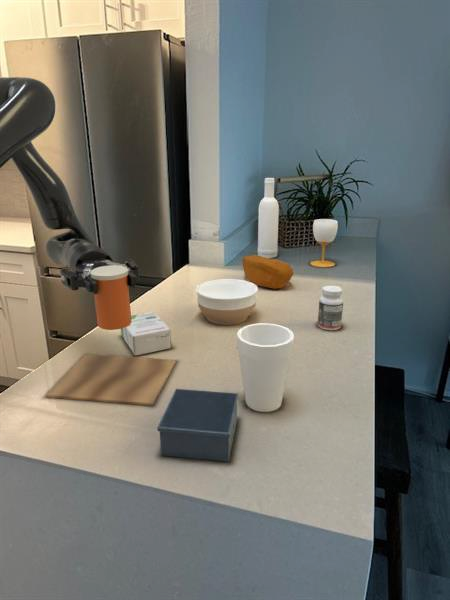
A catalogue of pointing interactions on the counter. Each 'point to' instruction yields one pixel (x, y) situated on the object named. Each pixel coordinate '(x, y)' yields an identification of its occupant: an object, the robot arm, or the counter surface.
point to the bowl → (226, 300)
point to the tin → (199, 425)
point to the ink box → (147, 334)
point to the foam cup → (264, 363)
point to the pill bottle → (330, 308)
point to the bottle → (268, 222)
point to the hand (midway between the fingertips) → (114, 285)
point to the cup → (324, 238)
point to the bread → (266, 271)
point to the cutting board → (114, 379)
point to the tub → (112, 297)
